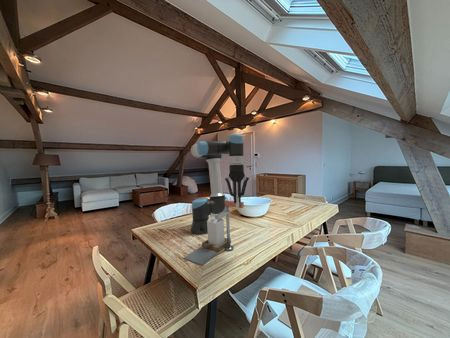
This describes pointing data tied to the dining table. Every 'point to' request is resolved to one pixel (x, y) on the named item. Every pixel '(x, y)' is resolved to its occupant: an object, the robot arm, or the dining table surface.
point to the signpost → (227, 213)
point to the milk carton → (215, 231)
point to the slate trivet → (200, 256)
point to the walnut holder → (215, 248)
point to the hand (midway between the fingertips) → (237, 208)
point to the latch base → (229, 248)
